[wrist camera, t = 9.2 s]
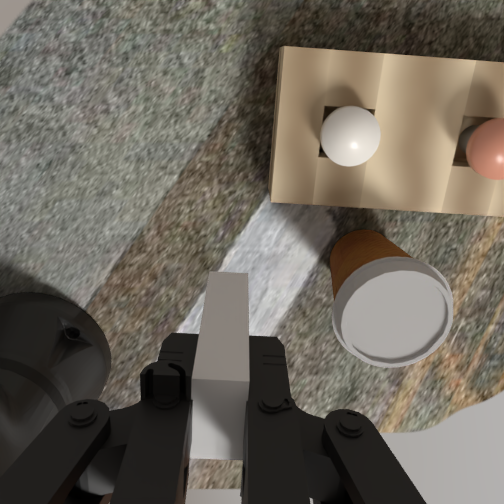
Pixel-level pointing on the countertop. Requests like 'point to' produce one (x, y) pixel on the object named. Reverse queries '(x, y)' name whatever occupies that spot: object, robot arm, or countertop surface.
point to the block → (385, 130)
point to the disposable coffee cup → (387, 301)
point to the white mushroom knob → (350, 135)
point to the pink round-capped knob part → (485, 148)
